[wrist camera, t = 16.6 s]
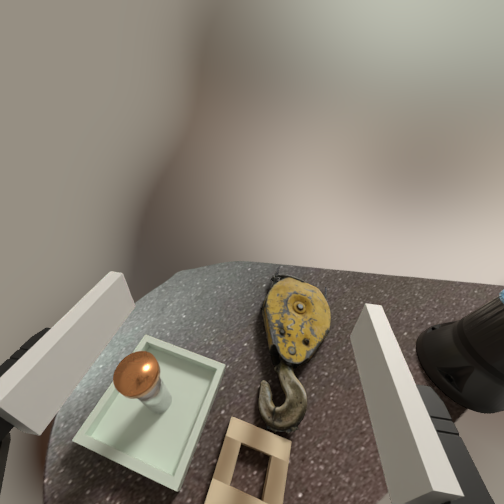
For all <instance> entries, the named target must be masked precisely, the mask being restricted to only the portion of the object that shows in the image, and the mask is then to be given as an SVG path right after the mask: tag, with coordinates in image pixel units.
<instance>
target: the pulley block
mask: <svg viewBox="0 0 504 504" xmlns="http://www.w3.org/2000/svg"><path fill="white" fill-rule="evenodd" d="M278 272H279V268H278V269H277V271H276V273H275V276H274V275H273V277H272V278H271V280H272V281H274V282H273V286H272V288H270V290H269V292H268V295H267V296H266V298H265V301H264V304H263V307H262V308H261V307H260V308H261V309H262V315H263V318H264V324H265V326H263V327H265V329H266V334H267V340H268V346H269V351H270V354H271V357H272V361H273V365H275V366H276V367H275V368H274V371H275V372H276V374H277V375H278V377H279V380H280V384H281V387H282V390H283V392H284V393H285V395H286V400H285V403H284V404H283V405H282V406H280V407H276V406H274V404H273V402H272V393H271V389H270V386H269V383H268V382H266V381H265V380H263V381H262V382H261V383H260V395H259V402H258V406H259V411H260V414H261V417H262V419H263V421H264V422H265V423H266V425H267V429H271V430H273V431H274V433H275V432H276V431H280V432H282V431H285V432H287V433H290V432H291V431H293V432H295V430H297V429H298V425H299V424H300V422H301V421H302V420H303V418H304V415H305V412H306V408H307V396H306V392H305V389H304V387H303V386H302V384H301V383H300V382H299V380H298V379H297V378H296V376H295V375H294V371H293V370H294V369H296V368H297V367H298V366H299V365H301V364H304V363H307V362H308V361H309V360H310V359H311V357H312V356H313V355H314V353H315V352H316V350H317V349H318V347H319V346H320V344H321V343H322V341H323V340H324V339H325V337H326V336H327V335H328V333H329V331H330V319H331V317H330V309H329V306H328V303H327V301H326V290H327V288H326V287H325V297H324V296H323V294H322V293H321V291H320V290H319V289H318V288H316V287H315V286H312V285H310V284H308V283H307V282H304V280H303V279H299V278H296V277H294V276H289V275H278ZM277 277H279V278H280V281H277V279H279V278H277ZM271 280H270V281H271ZM298 430H299V429H298Z"/></svg>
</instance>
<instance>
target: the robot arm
mask: <svg viewBox="0 0 504 504" xmlns="http://www.w3.org/2000/svg"><path fill="white" fill-rule="evenodd" d="M499 294H500V295H498V296H497V297H495V298H494V299H492V300H491V301H489V302H487V303H486V304H484V305H483V306H481V307H479V308H478V309H476V310H475V311H473V312H472V313H470V314H468V315H467V316H465V317H464V318H462V319H461V320H458V321H453V322H448V323H443V324H438V325H434V326H431V327H429V328H428V329H426V330H425V331H424V332H422V333H421V334H420V335H419V337H418V339H417V354H418V357H419V360H420V362H421V364H422V366H423V368H424V370H425V371H426V373H427V374H428V376H429V377H430V378H431V380H432V381H433V382H434V383H435V384H436V385H437V387H438V388H439V389H440V390H442V391H443V392H444V393H445V394H446V395H447V396H449V397H450V398H451V399H453V400H454V401H455V402H457V403H459V404H460V405H462V406H464V407H466V408H468V409H470V410H473V411H476V412H480V413H495V412H499V411H504V289H503V290H502V291H501V292H500V293H499ZM134 308H135V304H134V301H133V299H132V296H131V294H130V291H129V288H128V286H127V283H126V280H125V278H124V275H123V273H118V272H109V273H108V274H107V275H106V276H105V277H104V278H103V279H102V280H101V281H100V282H99V283H98V284H97V285H96V286H95V287H94V288H93V289H92V290H90V291H89V292H88V293H87V294H86V295H85V296H84V297H83V298H82V299H81V300H80V301H79V302H78V303H77V304H76V305H75V306H74V307H73V308H72V309H71V310H70V311H69V312H68V313H67V314H66V315H64V316H63V317H62V318H61V319H60V320H59V321H58V322H57V323H56V324H55V325H54V326H53V327H52V328H45V329H43V330H42V331H40V332H39V333H37V334H35V335H34V336H32V337H31V338H30V339H29V340H28V341H27V342H26V343H25V344H24V345H22V346H21V347H20V349H19V350H17V351H16V352H15V353H14V354H13V355H12V356H11V357H10V359H7V360H6V361H5V362H4V363H3V364H2V365H1V366H0V493H1V488H2V482H3V477H4V472H5V466H6V461H7V455H8V450H9V444H10V440H11V439H10V433H9V432H10V430H11V429H12V428H13V427H16V428H17V429H19V430H20V431H22V432H25V433H30V434H35V435H41V433H42V432H43V431H44V429H45V428H46V427H47V425H48V424H49V423H50V421H51V420H52V419H53V417H54V416H55V415H56V413H57V412H58V411H59V409H60V408H61V407H62V405H63V404H64V403H65V401H66V400H67V398H68V397H69V396H70V394H71V393H72V392H73V390H74V389H75V388H76V386H77V385H78V384H79V382H80V381H81V380H82V378H83V377H84V376H85V374H86V373H87V371H88V370H89V369H90V367H91V366H92V365H93V363H94V362H95V361H96V359H97V358H98V357H99V355H100V354H101V353H102V351H103V350H104V349H105V347H106V346H107V344H108V343H109V342H110V340H111V339H112V338H113V336H114V335H115V334H116V332H117V331H118V330H119V328H120V327H121V326H122V324H123V323H124V321H125V320H126V319H127V317H128V316H129V315H130V313H131V312H132V311H133V309H134ZM350 339H351V343H352V347H353V351H354V355H355V359H356V363H357V367H358V371H359V375H360V379H361V383H362V387H363V391H364V395H365V399H366V403H367V407H368V411H369V415H370V419H371V423H372V427H373V431H374V435H375V439H376V443H377V447H378V451H379V455H380V460H381V464H382V468H383V472H384V476H385V480H386V484H387V488H388V492H389V496H390V500H391V503H392V504H495V503H494V501H493V500H492V498H491V496H490V494H489V492H488V490H487V489H486V486H485V484H484V482H483V481H482V479H481V476H480V475H479V472H478V470H477V468H476V467H475V465H474V462H473V460H472V459H471V457H470V455H469V452H468V450H467V449H466V447H465V445H464V443H463V441H462V439H461V437H459V433H458V431H457V429H456V427H455V425H454V423H453V422H452V419H451V417H450V415H449V413H448V411H447V409H446V407H445V405H444V403H443V401H442V400H441V399H440V398H439V396H438V395H437V394H436V393H435V392H434V390H433V389H432V388H431V387H429V386H423V385H416V384H415V382H414V380H413V377H412V375H411V373H410V370H409V368H408V366H407V364H406V361H405V359H404V357H403V354H402V352H401V350H400V347H399V345H398V343H397V341H396V338H395V336H394V334H393V331H392V329H391V327H390V324H389V322H388V320H387V318H386V315H385V313H384V311H383V308H382V306H381V305H373V304H365V305H364V308H363V310H362V312H361V314H360V316H359V318H358V320H357V323H356V325H355V327H354V329H353V331H352V333H351V336H350Z"/></svg>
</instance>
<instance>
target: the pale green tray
mask: <svg viewBox="0 0 504 504" xmlns="http://www.w3.org/2000/svg"><path fill="white" fill-rule="evenodd" d="M137 351H147V352H149V353H151V354H153V355H154V357H155V358H156V360H157V362H158V363H159V366H160V378H161V379H162V381H163V383H164V384H165V386H166V387H167V389H168V391H169V392H170V394H171V397H172V401H171V405H170V407H169V408H168V409H167V410H166V411H165V412H164V413H162V414H154V413H153V412H151V411H150V410H149V409H148V408H147V407H146V406H145V405H144V404H143V403H142V402H141V401H139V400H138V399H137V398H136V399H130V398H127V397H125V396H123V395H122V394H121V393H120V392H118V391H117V390H116V388H115V386H114V383H113V382H112V383H111V385H110V386H109V388H108V389H107V391H106V392H105V393H104V395H103V396H102V398H101V399H100V401H99V402H98V404H97V405H96V406H95V408H94V409H93V411H92V412H91V414H90V415H89V417H88V418H87V419H86V421H85V422H84V424H83V425H82V427H81V428H80V430H79V431H78V432H77V434H76V435H75V437H74V438H73V440H72V441H74V442H76V443H78V444H80V445H82V446H84V447H86V448H88V449H90V450H92V451H94V452H96V453H98V454H100V455H102V456H104V457H107V458H109V459H111V460H113V461H115V462H117V463H119V464H121V465H123V466H125V467H127V468H129V469H131V470H133V471H135V472H137V473H139V474H142V475H144V476H146V477H148V478H150V479H152V480H154V481H156V482H158V483H160V484H162V485H164V486H166V487H168V488H170V489H172V490H174V491H180V490H181V487H182V484H183V482H184V479H185V476H186V474H187V471H188V468H189V466H190V463H191V460H192V458H193V455H194V452H195V450H196V447H197V444H198V442H199V439H200V436H201V434H202V431H203V428H204V426H205V423H206V420H207V418H208V415H209V412H210V410H211V407H212V404H213V402H214V399H215V396H216V394H217V391H218V388H219V386H220V383H221V380H222V378H223V375H224V373H225V364H222V363H219V362H217V361H214V360H211V359H209V358H206V357H204V356H201V355H198V354H196V353H193V352H190V351H188V350H185V349H182V348H180V347H177V346H174V345H172V344H169V343H167V342H164V341H161V340H159V339H156V338H153V337H151V336H148V335H145V336H144V337H143V338H142V340H141V341H140V343H139V344H138V346H137V347H136V349H135V350H134V351H133V353H134V352H137Z"/></svg>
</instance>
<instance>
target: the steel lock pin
mask: <svg viewBox="0 0 504 504" xmlns="http://www.w3.org/2000/svg"><path fill="white" fill-rule="evenodd" d="M113 383H114V386H115V388H116V390H117V391H118V392H120V393H121V394H122V395H123V396H125V397H127V398H130V399H136V398H137V399H138V400H139V401H141V402H142V403H143V404H144V405H145V406H146V407H147V408H148V409H149V410H150V411H151V412H153V413H154V414H162V413H164V412H165V411H166V410H167V409H168V408H169V407H170V405H171V401H172V397H171V394H170V392H169V391H168V389H167V387H166V386H165V384H164V383H163V381H162V379H161V378H160V366H159V363H158V362H157V360H156V358H155V357H154V355H153V354H151V353H149V352H147V351H137V352H134V353H132V354H130V355H128V356H127V357H125V358H124V359H123V360H122V361H121V362H120V363H119V365H118V366H117V368H116V370H115V372H114V377H113Z"/></svg>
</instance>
